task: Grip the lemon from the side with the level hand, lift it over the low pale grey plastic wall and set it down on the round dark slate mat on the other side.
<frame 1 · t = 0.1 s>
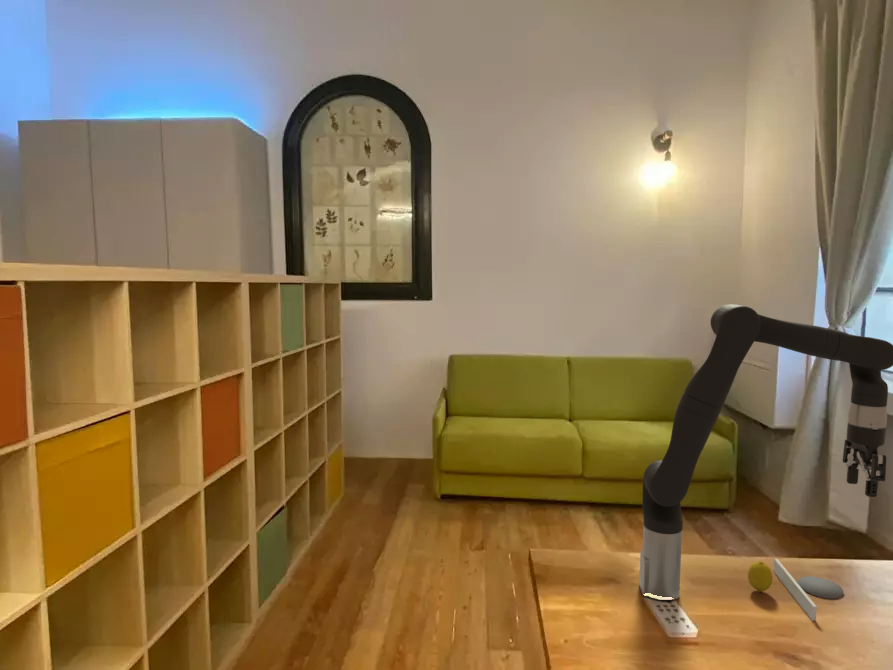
hand: (861, 489, 148), 29 cm above the table, tool pointing down, fingers open, 8 cm apart
low wall: (792, 594, 157), on the table
slate mat: (819, 588, 159), on the table
lemon: (759, 592, 158), on the table
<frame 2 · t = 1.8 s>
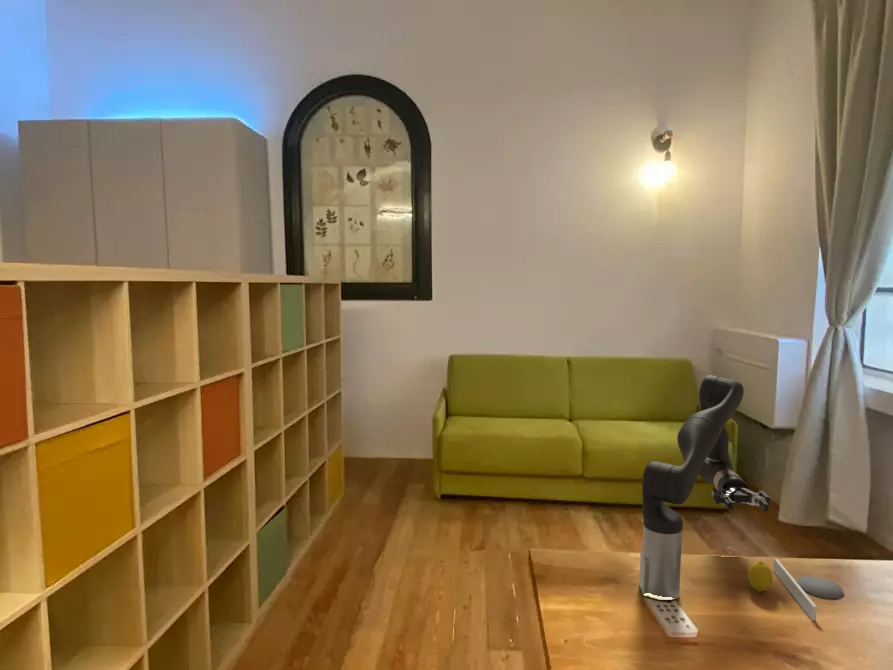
hand: (748, 507, 167), 18 cm above the table, tool horizontal, fingers open, 8 cm apart
nothing on the table moved.
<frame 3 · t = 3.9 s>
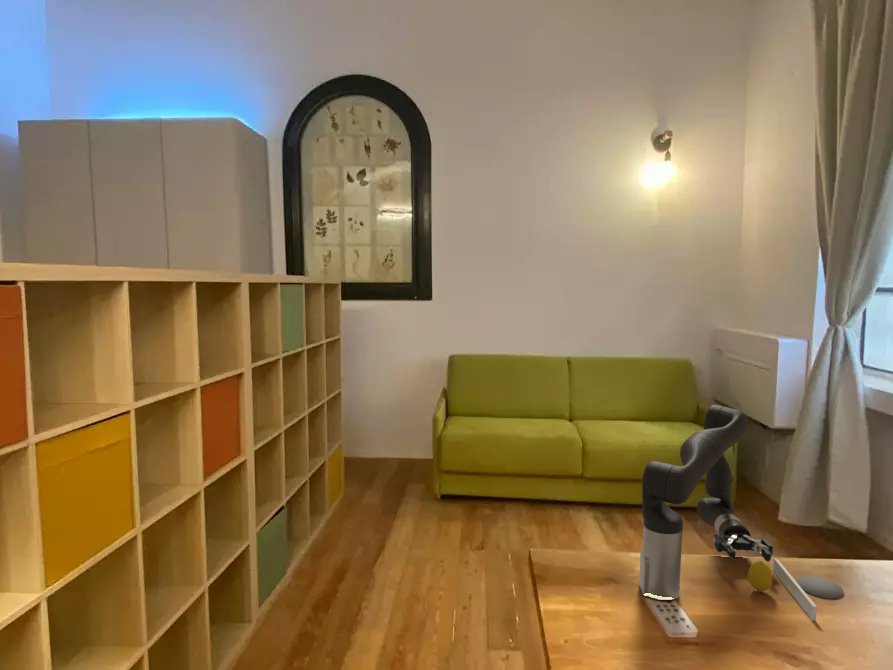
hand: (751, 556, 164), 6 cm above the table, tool horizontal, fingers open, 8 cm apart
nothing on the table moved.
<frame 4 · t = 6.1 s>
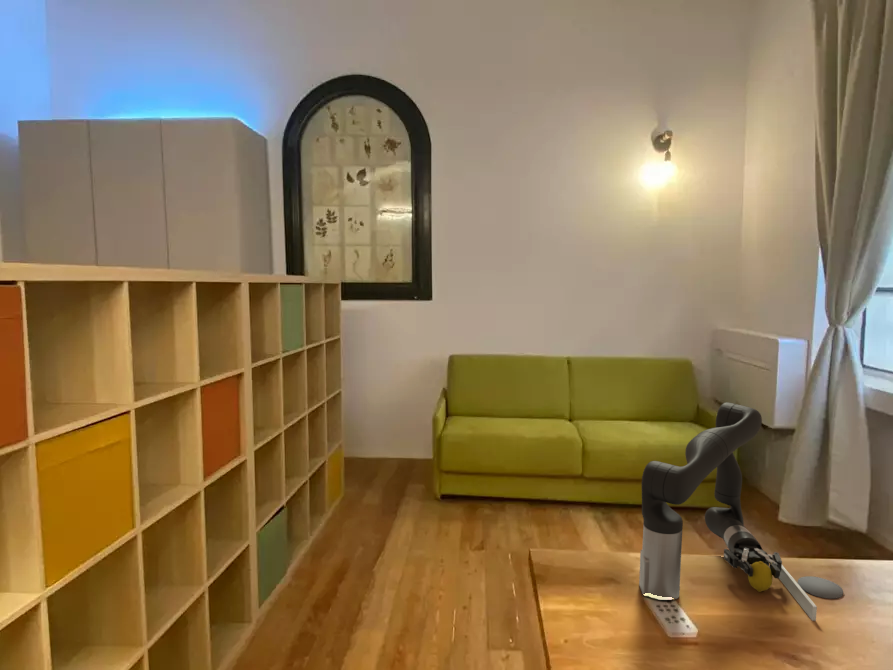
hand: (764, 573, 155), 6 cm above the table, tool horizontal, fingers closed on lemon, 5 cm apart
lemon: (759, 592, 158), on the table, touching gripper
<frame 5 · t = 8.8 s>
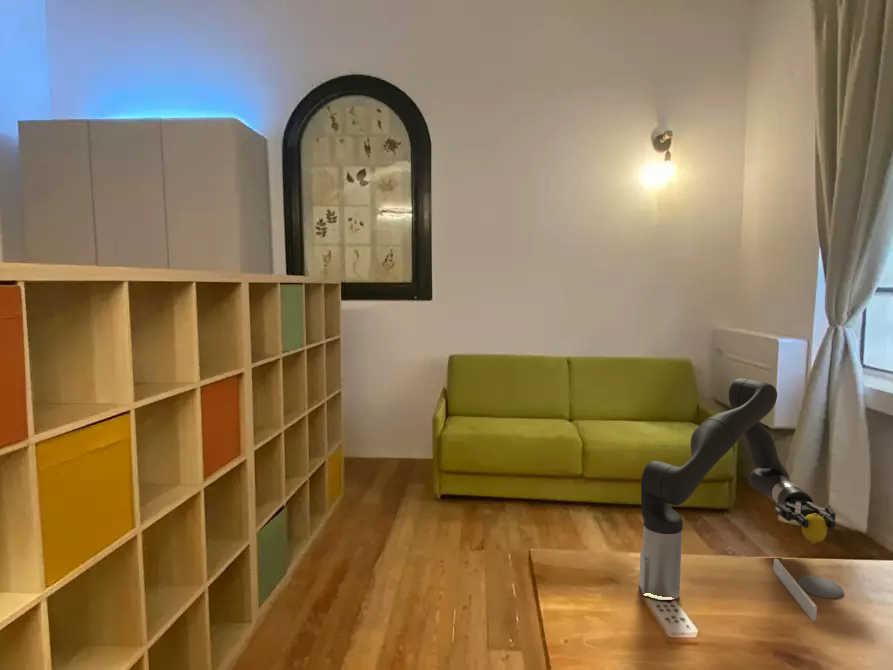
hand: (819, 524, 155), 18 cm above the table, tool horizontal, fingers closed on lemon, 5 cm apart
lemon: (813, 544, 158), point 12 cm above the table, touching gripper
when the fingers open (8 cm above the table, at t = 11.4 s): lemon stays where it is, resting on slate mat.
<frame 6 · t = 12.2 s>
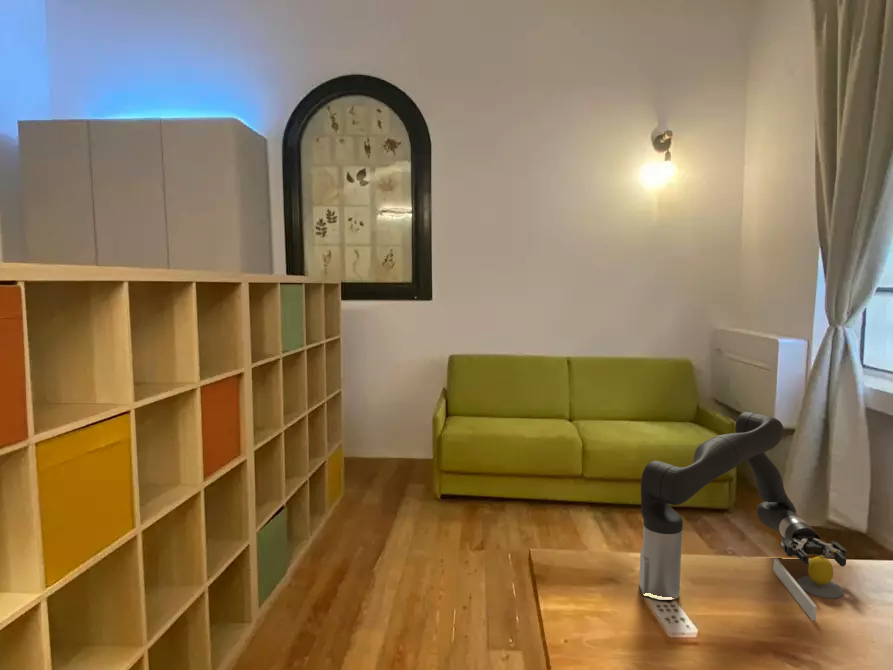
hand: (825, 561, 157), 8 cm above the table, tool horizontal, fingers open, 8 cm apart
lemon: (819, 586, 160), resting on slate mat
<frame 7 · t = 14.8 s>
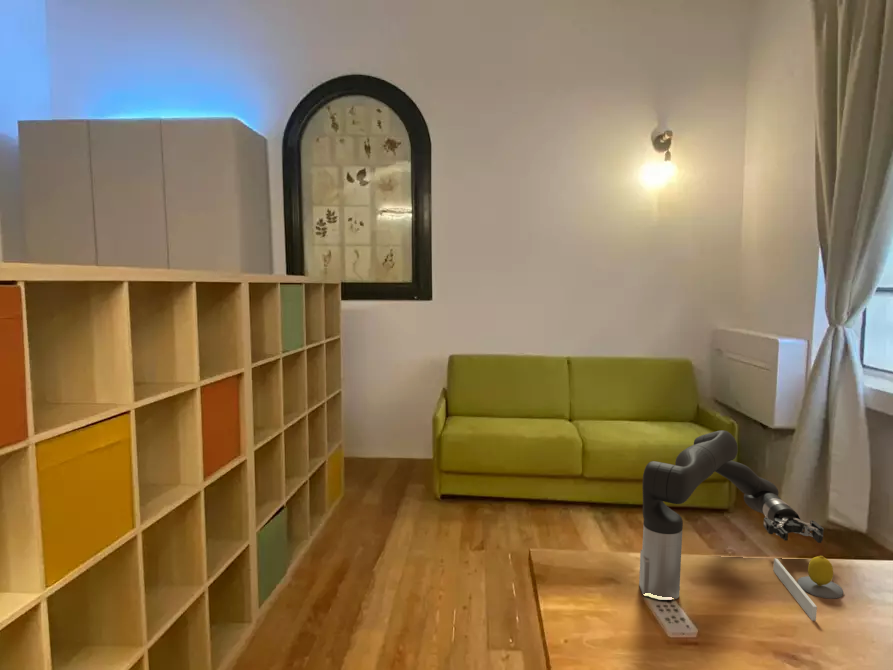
hand: (803, 538, 169), 8 cm above the table, tool horizontal, fingers open, 8 cm apart
nothing on the table moved.
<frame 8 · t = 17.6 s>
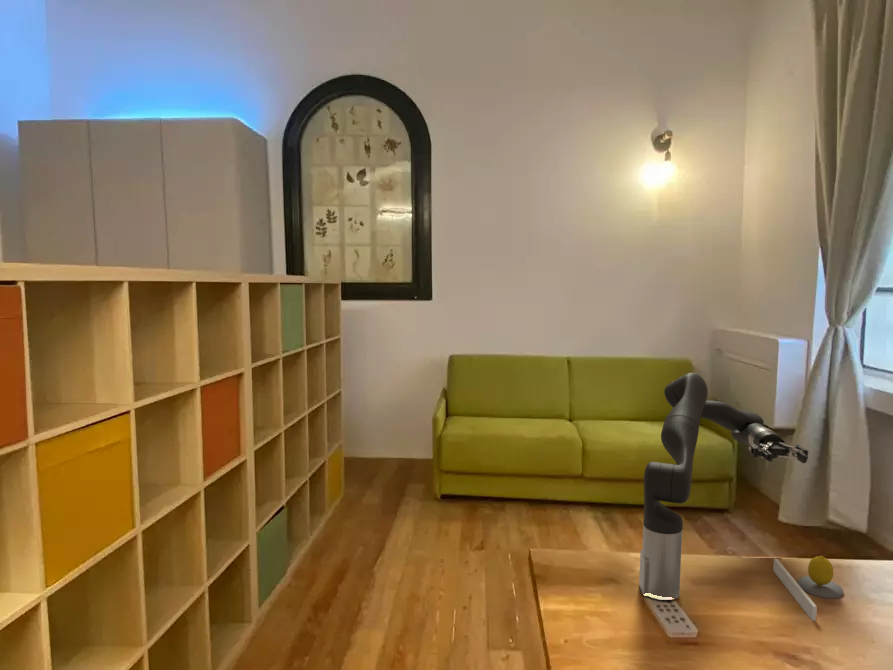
hand: (787, 458, 169), 30 cm above the table, tool horizontal, fingers open, 8 cm apart
nothing on the table moved.
at the end: lemon inside the target area on the slate mat (0.1 cm from its centre), point 0.4 cm above the slate mat's base; the gripper is holding nothing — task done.
